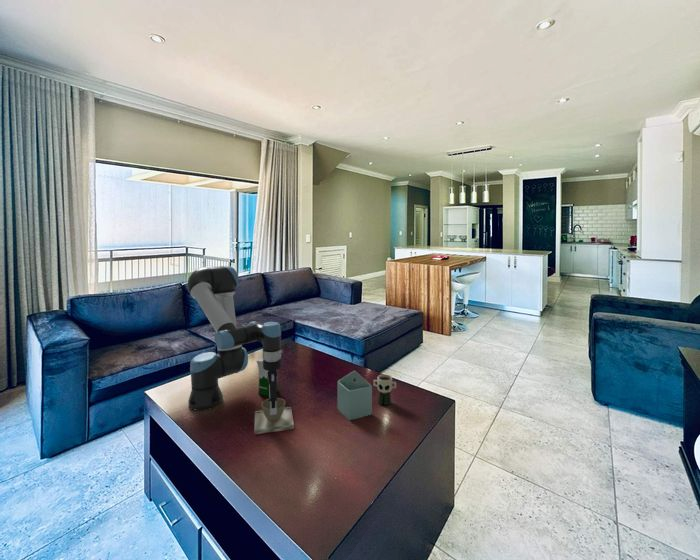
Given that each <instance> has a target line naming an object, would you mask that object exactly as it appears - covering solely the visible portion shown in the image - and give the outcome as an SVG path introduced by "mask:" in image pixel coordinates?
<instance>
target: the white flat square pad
mask: <svg viewBox="0 0 700 560" xmlns="http://www.w3.org/2000/svg"><path fill="white" fill-rule="evenodd" d="M253 429H254V430H253V434H254V435H260V434H266V433H273V432H281V431H288V430H294V429H295V424H294V418H293V411H292V406H285V408H284V411H283V413H282V416H281V417H280V419H279V420H278V421H275V422H270V421H268V420H267V418H266V417H265V415H264V413H263V410H262V409H260V410H255V411H254V428H253Z"/></svg>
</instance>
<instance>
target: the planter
mask: <svg viewBox="0 0 700 560" xmlns="http://www.w3.org/2000/svg"><path fill="white" fill-rule="evenodd" d="M354 380H355V381H354ZM337 410H338V411H339V412H340V413H341V414H342V415H343V416H344V417H345V418H346V419H347V420H348V421H352V420H358V419H361V418H364V416H365V417H369V416H372V415H371V414H373V386H372V384H371V383H370V382H369V381H367V380H366V378H365V377H363V376H362V375H361V374H360V373H358V372H357V370H353V371H351V372H350V373H348V374H346V375H344V376H343V377H342V378H340V379H338V380H337ZM368 415H369V416H368Z"/></svg>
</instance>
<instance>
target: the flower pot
mask: <svg viewBox="0 0 700 560" xmlns="http://www.w3.org/2000/svg"><path fill="white" fill-rule="evenodd" d="M276 398H277V414H275V415H270V401H268V399H269V398H267V399H265V400H263V401H262V402H261V404H260V405H261V410H263V413H264V415H265V417H266V418H267V420H268V421H270V422H275V421H278V420H279V419H280V417H281V416H282V413H283V411H284V408H285V407H286V401H285V399H283V398H280V397H276Z"/></svg>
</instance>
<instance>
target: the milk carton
mask: <svg viewBox="0 0 700 560" xmlns="http://www.w3.org/2000/svg"><path fill="white" fill-rule="evenodd" d="M263 360H264V359H263V356H262V357H260V358H259V359H257V360H256V365H257V369H258V395H261V396H266V397H269V382H268V371H267V370H265V369H264V368H263ZM278 384H279V383H278V380H277V383H276V393H277V392H278V391H279V385H278Z"/></svg>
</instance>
